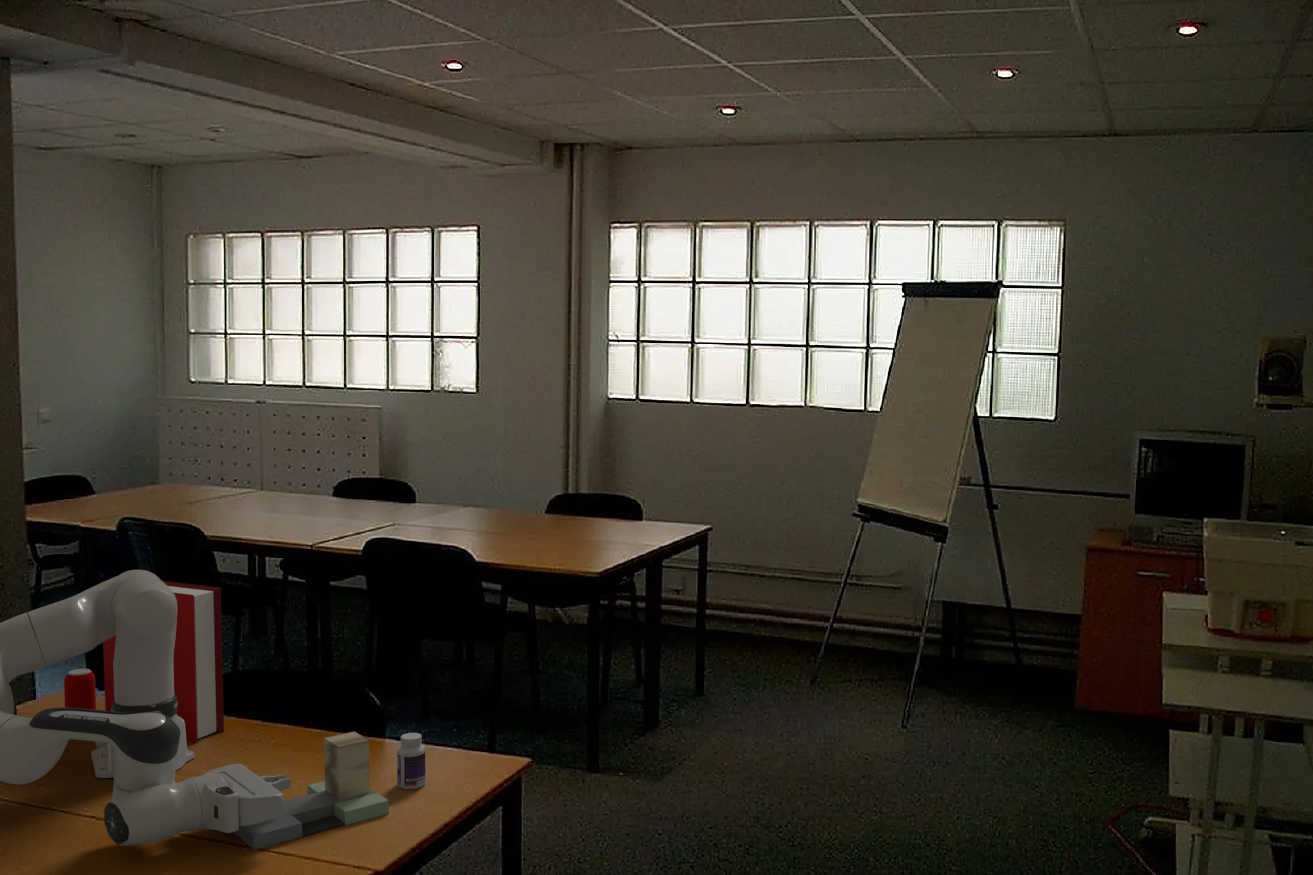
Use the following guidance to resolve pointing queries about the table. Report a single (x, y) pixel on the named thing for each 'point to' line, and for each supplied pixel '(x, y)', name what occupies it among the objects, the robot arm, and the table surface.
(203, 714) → the book
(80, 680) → the beverage can
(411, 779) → the pill bottle
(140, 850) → the table surface
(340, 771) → the birch block
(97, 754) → the robot arm
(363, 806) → the board
